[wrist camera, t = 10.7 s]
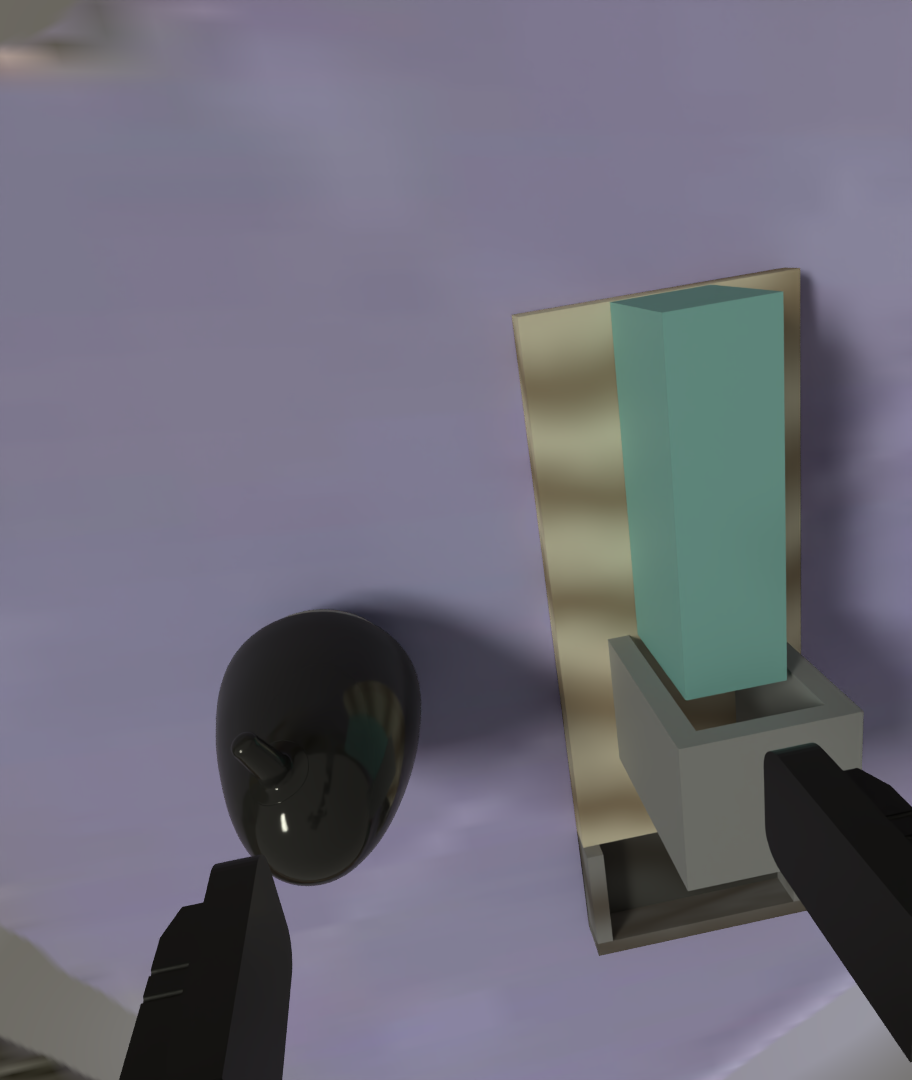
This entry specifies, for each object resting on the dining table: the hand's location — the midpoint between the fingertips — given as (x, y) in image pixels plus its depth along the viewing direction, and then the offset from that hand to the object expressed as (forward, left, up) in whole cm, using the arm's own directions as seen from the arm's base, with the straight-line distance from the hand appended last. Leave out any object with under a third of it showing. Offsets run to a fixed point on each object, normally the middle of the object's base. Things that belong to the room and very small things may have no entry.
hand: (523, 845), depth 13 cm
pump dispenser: (+12, -7, -30) cm, 33 cm away
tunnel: (+17, +13, -29) cm, 36 cm away
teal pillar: (+4, +13, -29) cm, 32 cm away
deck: (+15, +13, -30) cm, 36 cm away
